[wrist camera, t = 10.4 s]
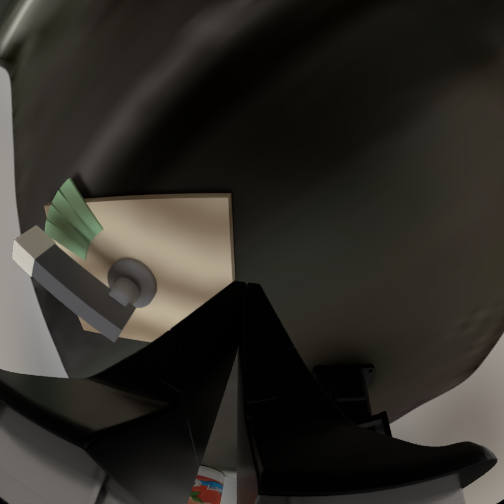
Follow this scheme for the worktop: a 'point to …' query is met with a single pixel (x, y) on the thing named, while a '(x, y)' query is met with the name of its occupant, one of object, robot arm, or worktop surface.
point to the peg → (76, 284)
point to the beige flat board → (149, 249)
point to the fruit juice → (207, 487)
